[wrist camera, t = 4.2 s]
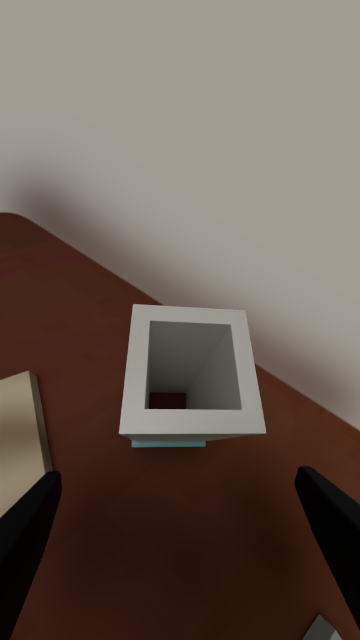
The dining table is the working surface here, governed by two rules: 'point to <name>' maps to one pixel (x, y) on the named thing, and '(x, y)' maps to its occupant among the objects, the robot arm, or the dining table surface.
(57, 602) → the dining table surface
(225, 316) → the sleeve
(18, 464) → the pin plate
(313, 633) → the pin plate
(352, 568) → the robot arm
